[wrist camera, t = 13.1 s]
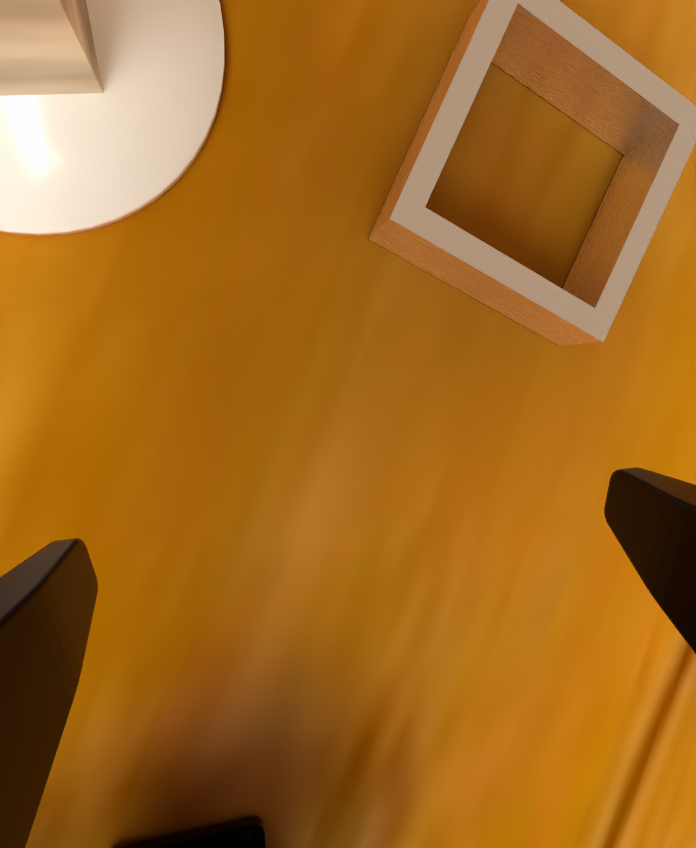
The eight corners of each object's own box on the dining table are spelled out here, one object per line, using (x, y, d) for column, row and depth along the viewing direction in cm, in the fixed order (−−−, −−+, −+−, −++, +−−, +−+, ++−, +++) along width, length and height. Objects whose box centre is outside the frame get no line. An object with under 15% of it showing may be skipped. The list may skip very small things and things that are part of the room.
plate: (-191, 235, 17) (-207, 230, 16) (-275, -250, 15) (-295, -275, 15) (238, 236, 20) (238, 233, 19) (209, -170, 18) (207, -188, 18)
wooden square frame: (557, 345, 23) (603, 342, 21) (367, 238, 21) (389, 218, 18) (648, 146, 23) (708, 115, 20) (468, 16, 21) (507, -40, 18)
